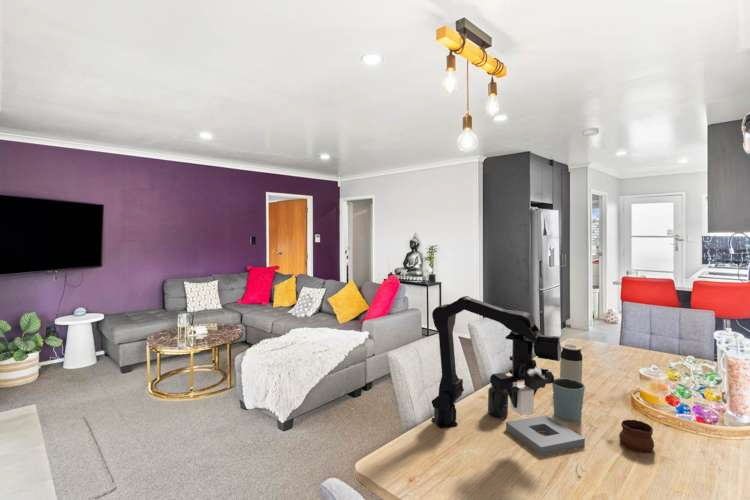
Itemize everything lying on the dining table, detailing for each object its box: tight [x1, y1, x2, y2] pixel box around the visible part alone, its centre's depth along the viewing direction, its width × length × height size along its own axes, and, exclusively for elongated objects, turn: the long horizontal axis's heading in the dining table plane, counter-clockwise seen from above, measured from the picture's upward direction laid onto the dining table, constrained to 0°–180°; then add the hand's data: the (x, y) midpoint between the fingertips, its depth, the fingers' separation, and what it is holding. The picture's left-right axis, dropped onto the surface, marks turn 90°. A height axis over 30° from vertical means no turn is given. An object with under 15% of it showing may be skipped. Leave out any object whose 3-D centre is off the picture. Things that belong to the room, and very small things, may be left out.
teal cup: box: [551, 377, 586, 424], centre depth 137 cm, size 10×10×12 cm
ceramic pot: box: [618, 419, 655, 463], centre depth 119 cm, size 18×18×7 cm
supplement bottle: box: [487, 383, 509, 419], centre depth 139 cm, size 7×7×12 cm
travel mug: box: [559, 343, 583, 383], centre depth 161 cm, size 8×8×18 cm
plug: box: [509, 383, 535, 416], centre depth 118 cm, size 4×5×7 cm
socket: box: [505, 414, 586, 456], centre depth 123 cm, size 16×16×2 cm
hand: (521, 406), depth 118 cm, fingers closed on plug, 4 cm apart
